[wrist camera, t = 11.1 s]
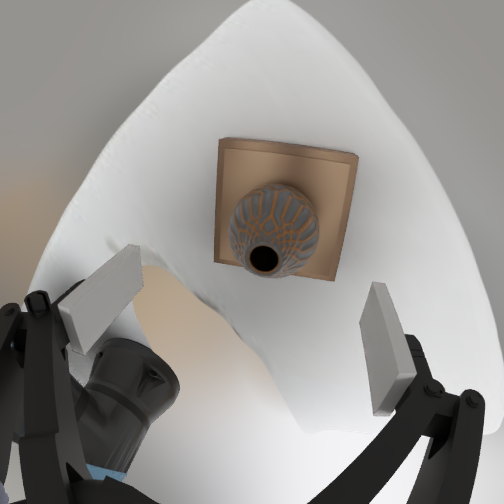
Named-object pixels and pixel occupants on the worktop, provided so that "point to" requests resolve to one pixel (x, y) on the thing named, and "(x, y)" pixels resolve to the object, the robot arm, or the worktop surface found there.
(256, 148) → the tray
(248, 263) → the vase
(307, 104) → the worktop surface
